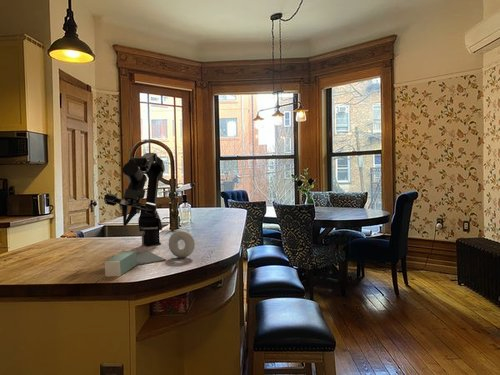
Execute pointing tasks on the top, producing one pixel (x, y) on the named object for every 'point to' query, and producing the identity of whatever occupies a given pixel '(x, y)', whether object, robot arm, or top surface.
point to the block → (120, 263)
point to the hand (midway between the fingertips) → (124, 225)
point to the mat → (147, 258)
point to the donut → (186, 238)
